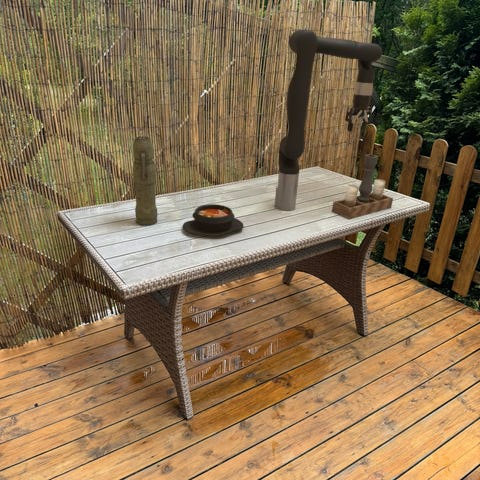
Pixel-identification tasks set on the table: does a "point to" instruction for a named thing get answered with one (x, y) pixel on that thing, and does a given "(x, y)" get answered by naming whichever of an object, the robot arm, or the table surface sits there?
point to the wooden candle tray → (355, 208)
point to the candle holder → (367, 178)
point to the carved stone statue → (144, 181)
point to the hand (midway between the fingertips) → (356, 130)
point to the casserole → (213, 221)
